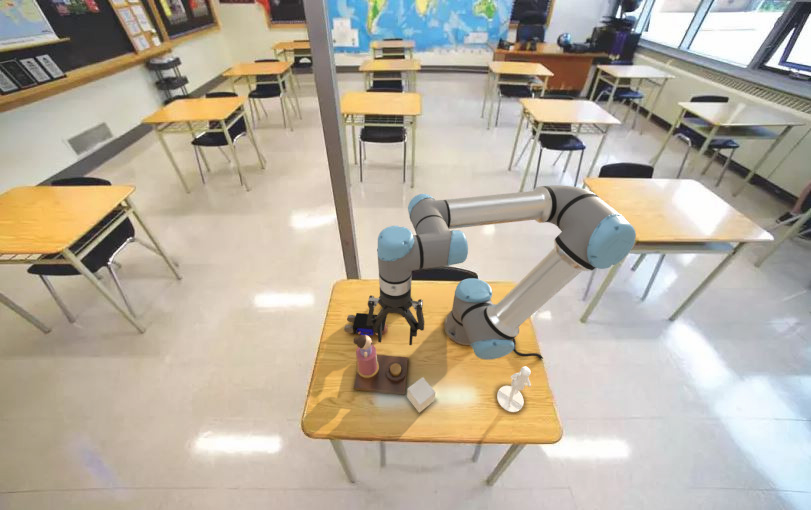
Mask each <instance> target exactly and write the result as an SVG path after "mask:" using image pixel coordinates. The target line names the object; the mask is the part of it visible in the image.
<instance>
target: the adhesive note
mask: <svg viewBox="0 0 811 510" xmlns="http://www.w3.org/2000/svg"><path fill="white" fill-rule="evenodd" d="M406 392H407V393H406V397H407V399H408V400H409V402H410V403H411V404H412V406H413V407H414V408H415V409H416V412H418V413H421V412H422V411H424V410H425V409H426V408H427V407H429V406H430V405H431V404H432V403H434V401H435V398H436V390H435V389H433V387H432V386H431V384H429V383H428V381H427V380H426V379H425V378H424V377H423V376H422V377H421V378H419V379H418V380H417V381H415V382H414V383H413V384H411V385H410V386H409V387H408V388H407V391H406Z"/></svg>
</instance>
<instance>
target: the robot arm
mask: <svg viewBox="0 0 811 510" xmlns="http://www.w3.org/2000/svg"><path fill="white" fill-rule="evenodd" d="M407 211H408V216H409V220H410V223H411V224H412V227H413V230H414V232H415V234H413V232H412V230H410V229H409V228H408V227H405V226H399V225H390V226H387V227H385V228H383V229H382V230H381V231H380V232H379V234H378V237H377V249H376V252H377V254H376V255H377V266H378V285H379V296H378V297H375V296H374V295H369V296H368V300H367V307H368V312H367V314H368V318H367V323H366V325H367V326H371V325H372V326H373V327H374V332H373V334H375V333H378V335H377V342H378V343H380V344H381V343H382V339H383V336H382V320H383V319H384V318H385V316H387V317H388V314H400V315H401V317H402V318H403V319H404V320H405V321H406V322H407V324H408V325H409V341H408V344H409V346H413V338H414V337H415V338H416V337H417V336H418V331H422V332H423V331H424V330H425V318H424V311H423V306H424V301H423V299H421V298H420V299H418V300H413V298H412V282H413V281H412V278H413V271H416V270H423V269H432V268H441V267H450V266H453V265H459V264H463V263H465V262H466V260H467V259H468V255H469V243H468V239H467V236H466V234H465V232H463V231H461V230H459V229H463V228H472V227H480V226H481V227H482V226H490V225H498V224H499V225H501V224H508V223H516V222H517V223H518V222H525V221H535V222H537V223H539V224H543V223H549V224H553V225H554V226H556V227H557V228H558V229H559V231H561V232H560V233H559V234H558V235H557V236H556V237H555V238H554V239H553V242H554V247H553V248H552V249H551V250H550V251H549V252H548V254H547V255H545V256H544V257H543V259H542V260H540V261H539V262H538V263H537V264H536V265H535V266H534V267H533V268H532V269H531V270H530V271H529V272H528V273H527V274H526V275H525V276H524V277H523V278H522V279H521V280H520V281H519V282H518V283H517V284H516V285H515V286H514V287H513V288H512V289H511V290H510V291H508V292H507V294H505V296H504V297H503V298H502V299H501V300H499V302H498V303H497V304H496V303H493V301H492V297H493V289H492V286H491V285H490V284H489V283H488V282H486V281H485V280H482V279H479V278H473V277H471V278H465V279H462V280H460V281H459V283H458V284H457V285H456V286H455V287H456V288H455V289H454V297H453V303H452V308H451V311H450V312H449V313H448V314H447V315H446V317H445V320H444V323H443V324H444V325H443V330H444V332H445V334H446V336H447V337H448V339H449V340H451V341H452V342H453V343H454V344H456V345H459V346H462V347H470V348H472V350H473V353H474V355H475V356H476V357H477V358H479V359H481V360H484V361H485V360H486V361H487V360H488V361H489V360H496V359H500V358H504V357H506V356H508V355H509V354H511V353H512V352H514V353H515V354H516V355H517V356H520V357H537V358H539V359H540V360H544V357H543V356H542V355H541V354H539V353H537V352H536V353H535V352H531V353H530V352H529V353H522V352H519V351H518V350H517V348H516V345H517V344H516V343H517V342H516V337H518V335H519V334H520V326H521V325H523V323H525V322H526V321H527V320H528V319H529V318H531V317H532V316H533V315H534V314H535V313H536V312H537V311H538V310H540V308H542V307H543V306H544V305H545V304H546V303H548V302H549V301H551V299H552V298H553V297H554V296H556V295H557V294H558V293H559V292H560V291H561V290H562V289H564V287H566V286H567V285H568V284H569V283H570V282H572V280H574V279H575V278H576V277H577V276H578V275H579V274H581V273H582V272H592V271H594V270H595V269H599V270H605V269H609V268H611V267H612V266H615V265H617V264H619V263H620V262H621V261H622V260H624V259H625V258H626V257H627V256H628V255H629V253H630V252H631V250H632V249H633V247H634V245H635V244H636V243H635V242H636V237H637V232H636V229H635V228H634V226H633V225H632V224H631V223H630V222H629V221H628V220H627V219H626V217H625V216H624V215H623V214H620V212H618V210H616V209H615V208H613V207H612V206H610V205H609V204H608V203H606V202H605V201H604V200H602V198H600V197H599V196H598V195H597V194H596V193H595V192H594V191H591V190H588V189H586V188H582V187H580V186H579V187H578V186H571V185H557V184H555V185H542V186H541V185H540V186H537V187H535V188H534V189H533V190H528V191H519V192H509V193H499V194H498V193H497V194H488V195H478V196H468V197H457V198H448V199H435V198H434V197H433V196H432V195H430V194H427V193H419V194H417V195H415V196H413V197H412V198H411V199H410V201H409V202H408V206H407ZM454 229H458V230H454ZM378 305H379V306H381V308H380V310H379V311H378V313H377V314H376V315H377V316H376V317H375V319H373V318H372V317H373V314H374V312H375V308H376V307H377V306H378ZM411 307H413V309H414V311H415V313H416V317H415V316H414V314H413V313H412V311H411V309H410V308H411ZM541 358H542V359H541Z"/></svg>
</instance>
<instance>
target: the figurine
mask: <svg viewBox="0 0 811 510" xmlns="http://www.w3.org/2000/svg"><path fill="white" fill-rule="evenodd" d="M531 373H532V371H531V369H530V368H529V367H528V366H522V367H521V368H520V369H519V372H515V373H514V374H512V375H511V376H510V379H511V382H510V385H503V386H501V387H500V388H499V389H498V390H497V393H496V400H497V402H498V404H499V405H500V407H501V408H502V409H503V410H505V411H507V412H509V413H517V412H519V411H521V410H522V408H523V407H524V404H525V401H524V397H523V394H522V393H521V391H523V390H524V389H525V386H526V387H529V388H530V387H531V386H532V384H531V380H530V378H529V377H530V376H531Z"/></svg>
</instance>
